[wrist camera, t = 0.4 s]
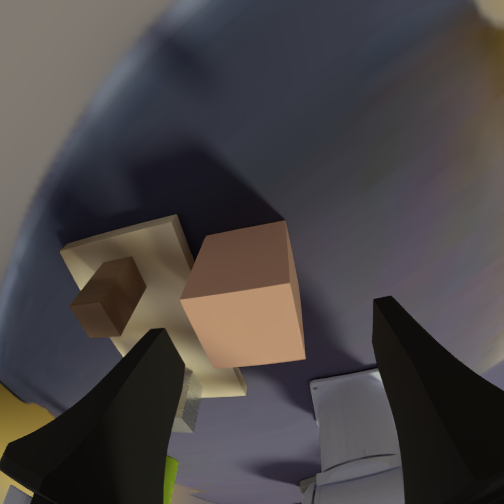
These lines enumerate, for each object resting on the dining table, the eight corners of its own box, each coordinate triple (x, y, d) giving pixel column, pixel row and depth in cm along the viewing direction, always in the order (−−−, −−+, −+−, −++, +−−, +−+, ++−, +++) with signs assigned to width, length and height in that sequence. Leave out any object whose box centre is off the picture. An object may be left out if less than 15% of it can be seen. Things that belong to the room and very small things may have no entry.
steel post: (203, 387, 26) (193, 432, 22) (178, 388, 27) (166, 431, 23) (192, 371, 25) (181, 418, 21) (167, 372, 26) (153, 416, 21)
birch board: (246, 385, 28) (245, 395, 27) (156, 388, 29) (154, 397, 28) (176, 214, 19) (171, 222, 18) (67, 243, 21) (59, 251, 20)
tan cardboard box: (299, 287, 21) (305, 359, 16) (228, 298, 22) (214, 368, 17) (285, 220, 19) (290, 283, 13) (205, 235, 20) (179, 299, 14)
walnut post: (146, 287, 21) (120, 336, 16) (118, 291, 21) (90, 337, 17) (131, 256, 20) (99, 302, 15) (103, 262, 20) (69, 306, 16)
